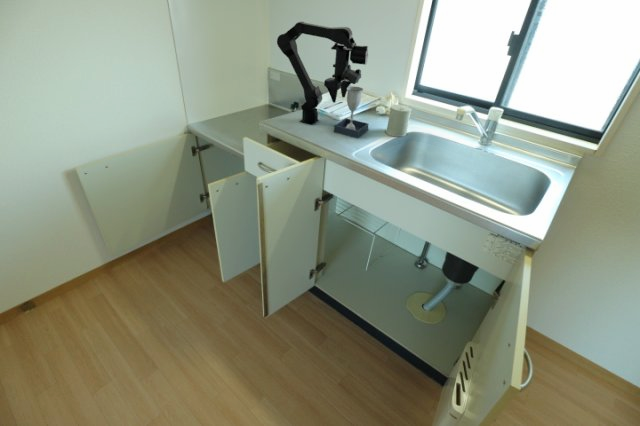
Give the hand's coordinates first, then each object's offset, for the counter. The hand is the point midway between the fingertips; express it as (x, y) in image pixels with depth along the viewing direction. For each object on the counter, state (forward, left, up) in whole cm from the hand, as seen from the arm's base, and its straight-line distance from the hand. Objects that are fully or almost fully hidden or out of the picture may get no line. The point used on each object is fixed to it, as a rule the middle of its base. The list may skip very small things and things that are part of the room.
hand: (338, 99), depth 145 cm
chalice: (+8, -2, -12) cm, 14 cm away
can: (+26, +9, -12) cm, 30 cm away
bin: (+8, -1, -12) cm, 15 cm away
